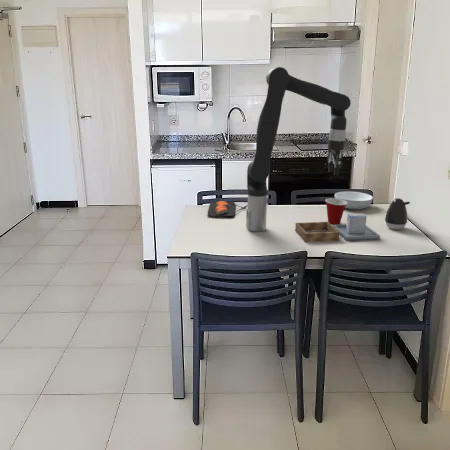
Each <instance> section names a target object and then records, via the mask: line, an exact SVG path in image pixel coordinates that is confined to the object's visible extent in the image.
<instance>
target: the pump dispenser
mask: <svg viewBox="0 0 450 450" xmlns="http://www.w3.org/2000/svg"><path fill="white" fill-rule="evenodd" d="M410 204H411V202H410V201H404V200H403V199H402V198H397V197H396V198H394V199H393V200H392V202H391V203H390V205H389V206H388V208H387V210H386V214H385V217H384V221H385V225H386V227H387V228H388V229H390V230H393V231H394V230H395V231H400V230H403V229H404V228H405V227H406V225H407V224H408V211H407V207H406V205H410Z"/></svg>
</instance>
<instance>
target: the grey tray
mask: <svg viewBox="0 0 450 450" xmlns="http://www.w3.org/2000/svg"><path fill="white" fill-rule="evenodd" d="M346 224H347V223H346ZM346 224H345V223H343V224H339V225H332V226H333V227H334V228H335V229H337V230H338V231H339V232H340V235H339V237H341V238H342V239H343V238H344V239H343V240H344V241H345V242H357V241H358V242H359V241H361V242H362V241H380V239H381V235H380V234H378V233H377V232H376V231H375V230H373V229H372V228H370V227H369V226H368V225H366V227H365V233H361V234H348V233H347V232H346Z"/></svg>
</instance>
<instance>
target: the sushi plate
mask: <svg viewBox="0 0 450 450" xmlns="http://www.w3.org/2000/svg"><path fill="white" fill-rule="evenodd" d="M236 207H239V208H240V209H237V210H236ZM247 208H248V204H247V205H245V206H240V205H237V204H236V202H235V201H224V200H219V201H217V200H216V201H210V203H209V207H208V210H207V216H209V217H219V218H225V217H226V218H228V217H234V216H235V214H236V213H237V212H239V211H241V210H246V211H247Z"/></svg>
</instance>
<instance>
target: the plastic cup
mask: <svg viewBox="0 0 450 450" xmlns="http://www.w3.org/2000/svg"><path fill="white" fill-rule="evenodd" d="M325 204H326V214H327V222H329V223H330V224H332V226H333V225H341V220H342V217H343V214H344V212H345V209H346V208H345V206H346V204H347V202H346V201H344V200H340V199H335V198H334V197H333V198H325Z"/></svg>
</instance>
